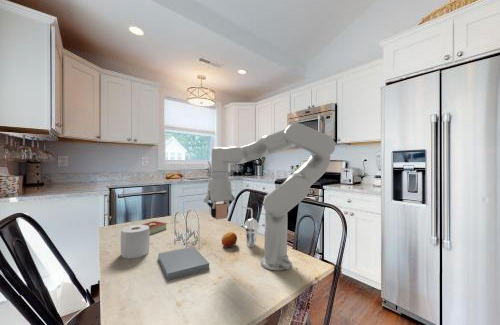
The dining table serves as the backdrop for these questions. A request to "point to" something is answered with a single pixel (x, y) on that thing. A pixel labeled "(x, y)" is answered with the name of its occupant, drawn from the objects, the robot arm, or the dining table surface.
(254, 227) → the cup with straw
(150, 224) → the hardcover book
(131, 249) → the toilet paper roll
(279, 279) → the dining table surface
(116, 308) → the dining table surface
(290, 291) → the dining table surface
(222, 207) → the terracotta block
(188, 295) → the dining table surface
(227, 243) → the fruit
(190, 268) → the slate board
